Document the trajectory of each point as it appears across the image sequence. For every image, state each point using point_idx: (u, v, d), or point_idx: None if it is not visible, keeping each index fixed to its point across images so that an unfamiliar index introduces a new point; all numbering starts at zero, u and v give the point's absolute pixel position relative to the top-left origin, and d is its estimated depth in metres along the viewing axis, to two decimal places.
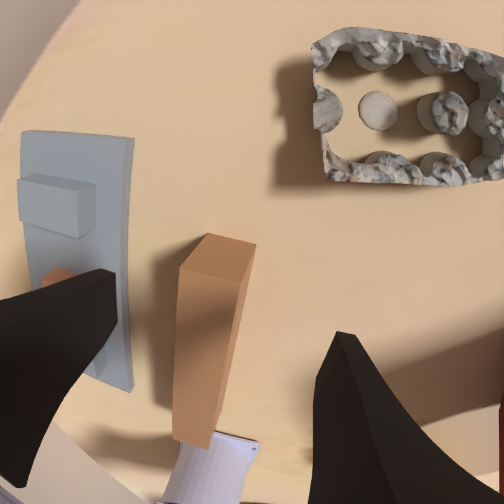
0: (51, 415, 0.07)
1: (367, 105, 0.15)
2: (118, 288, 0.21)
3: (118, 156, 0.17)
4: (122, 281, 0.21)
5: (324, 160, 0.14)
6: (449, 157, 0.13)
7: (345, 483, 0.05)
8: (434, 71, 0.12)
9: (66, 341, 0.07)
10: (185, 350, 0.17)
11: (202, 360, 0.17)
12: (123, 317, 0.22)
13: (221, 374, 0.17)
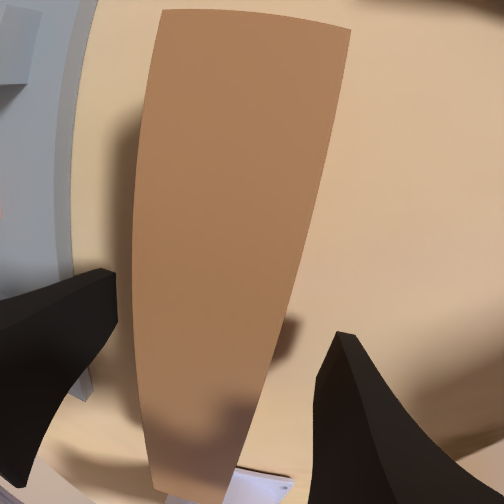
0: (51, 415, 0.07)
1: None
2: (50, 195, 0.10)
3: None
4: (58, 181, 0.10)
5: None
6: None
7: (345, 483, 0.05)
8: None
9: (66, 341, 0.07)
10: (162, 298, 0.06)
11: (210, 326, 0.06)
12: (59, 257, 0.11)
13: (265, 368, 0.06)
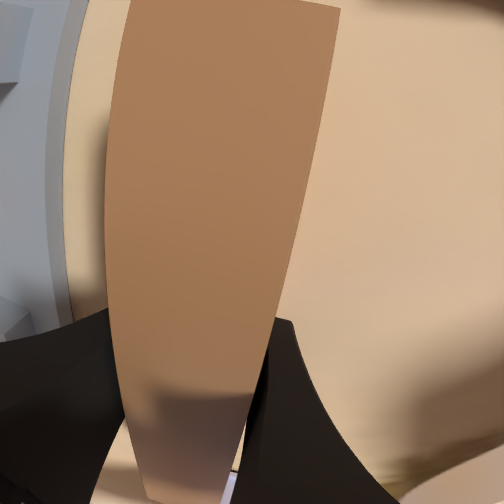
0: (109, 445, 0.07)
1: None
2: (41, 196, 0.09)
3: None
4: (49, 182, 0.09)
5: None
6: None
7: (246, 469, 0.05)
8: None
9: None
10: (139, 312, 0.05)
11: (192, 341, 0.05)
12: (51, 261, 0.11)
13: (251, 385, 0.06)
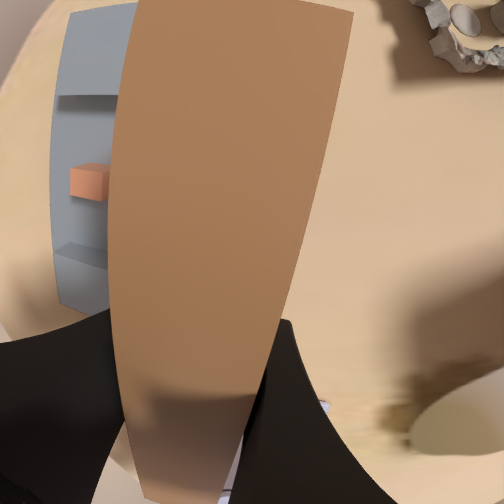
0: (110, 446, 0.07)
1: (456, 15, 0.11)
2: None
3: None
4: None
5: (456, 50, 0.10)
6: None
7: (244, 469, 0.05)
8: None
9: None
10: (141, 314, 0.05)
11: (194, 345, 0.05)
12: None
13: (253, 389, 0.06)
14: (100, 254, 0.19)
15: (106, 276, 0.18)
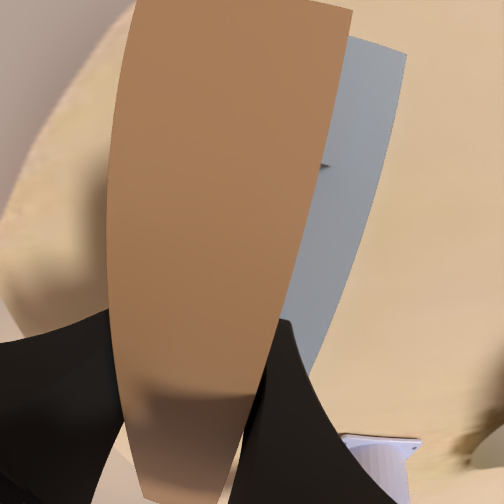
0: (110, 446, 0.07)
1: None
2: (350, 257, 0.15)
3: (394, 71, 0.11)
4: None
5: None
6: None
7: (244, 469, 0.05)
8: None
9: None
10: (140, 313, 0.05)
11: (193, 344, 0.05)
12: (338, 301, 0.16)
13: (253, 388, 0.06)
14: None
15: None
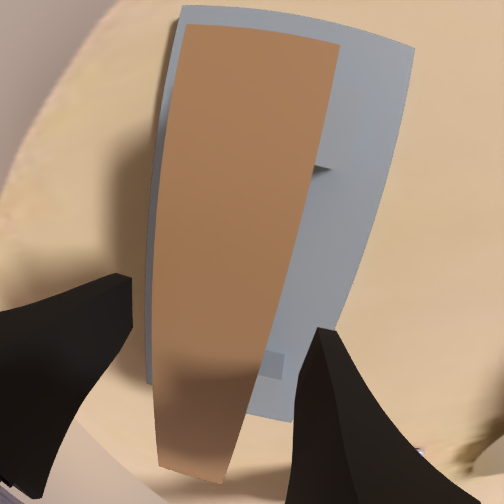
0: (67, 425, 0.07)
1: None
2: (353, 267, 0.14)
3: (402, 66, 0.10)
4: None
5: None
6: None
7: (317, 481, 0.05)
8: None
9: (83, 349, 0.07)
10: (180, 266, 0.07)
11: (222, 290, 0.07)
12: (339, 313, 0.15)
13: (267, 329, 0.07)
14: None
15: None
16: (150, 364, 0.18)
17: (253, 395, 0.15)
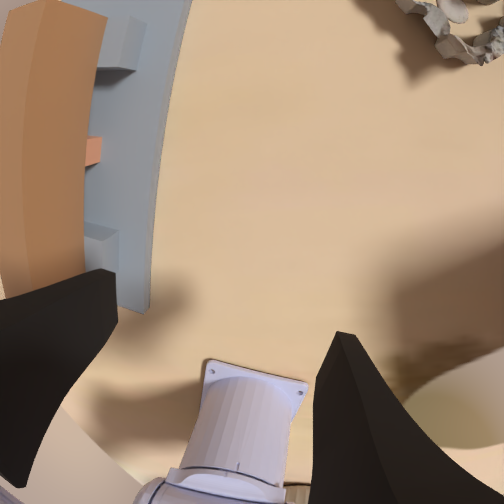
0: (51, 415, 0.07)
1: (444, 7, 0.11)
2: (152, 143, 0.17)
3: None
4: (158, 135, 0.17)
5: (468, 53, 0.10)
6: None
7: (345, 483, 0.05)
8: None
9: (66, 341, 0.07)
10: None
11: (8, 117, 0.10)
12: (151, 187, 0.18)
13: (21, 134, 0.10)
14: None
15: (84, 241, 0.18)
16: None
17: (89, 261, 0.18)
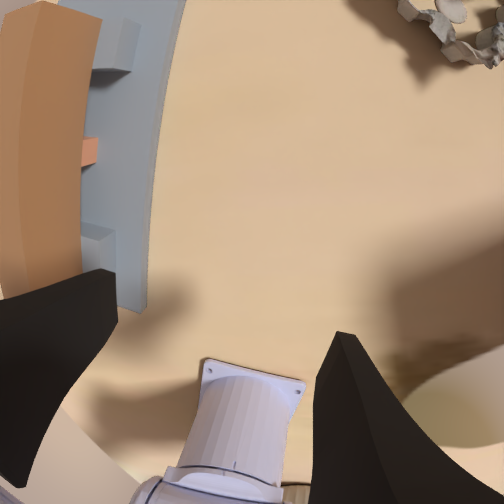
0: (51, 415, 0.07)
1: (444, 8, 0.11)
2: (147, 143, 0.17)
3: None
4: (153, 135, 0.17)
5: (477, 58, 0.10)
6: None
7: (345, 483, 0.05)
8: None
9: (66, 341, 0.07)
10: None
11: (4, 119, 0.10)
12: (147, 187, 0.18)
13: (17, 135, 0.10)
14: None
15: None
16: None
17: (86, 260, 0.18)
